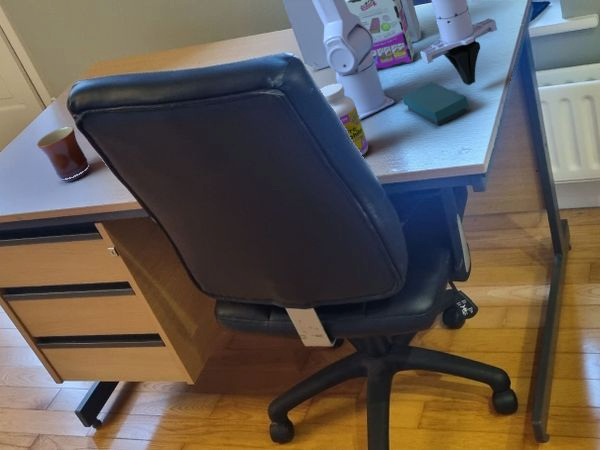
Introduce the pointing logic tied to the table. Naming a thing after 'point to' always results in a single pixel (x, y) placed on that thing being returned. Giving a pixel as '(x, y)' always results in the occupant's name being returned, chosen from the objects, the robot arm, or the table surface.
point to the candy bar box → (385, 31)
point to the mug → (64, 153)
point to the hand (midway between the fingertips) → (469, 82)
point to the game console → (312, 29)
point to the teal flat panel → (435, 103)
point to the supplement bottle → (346, 114)
